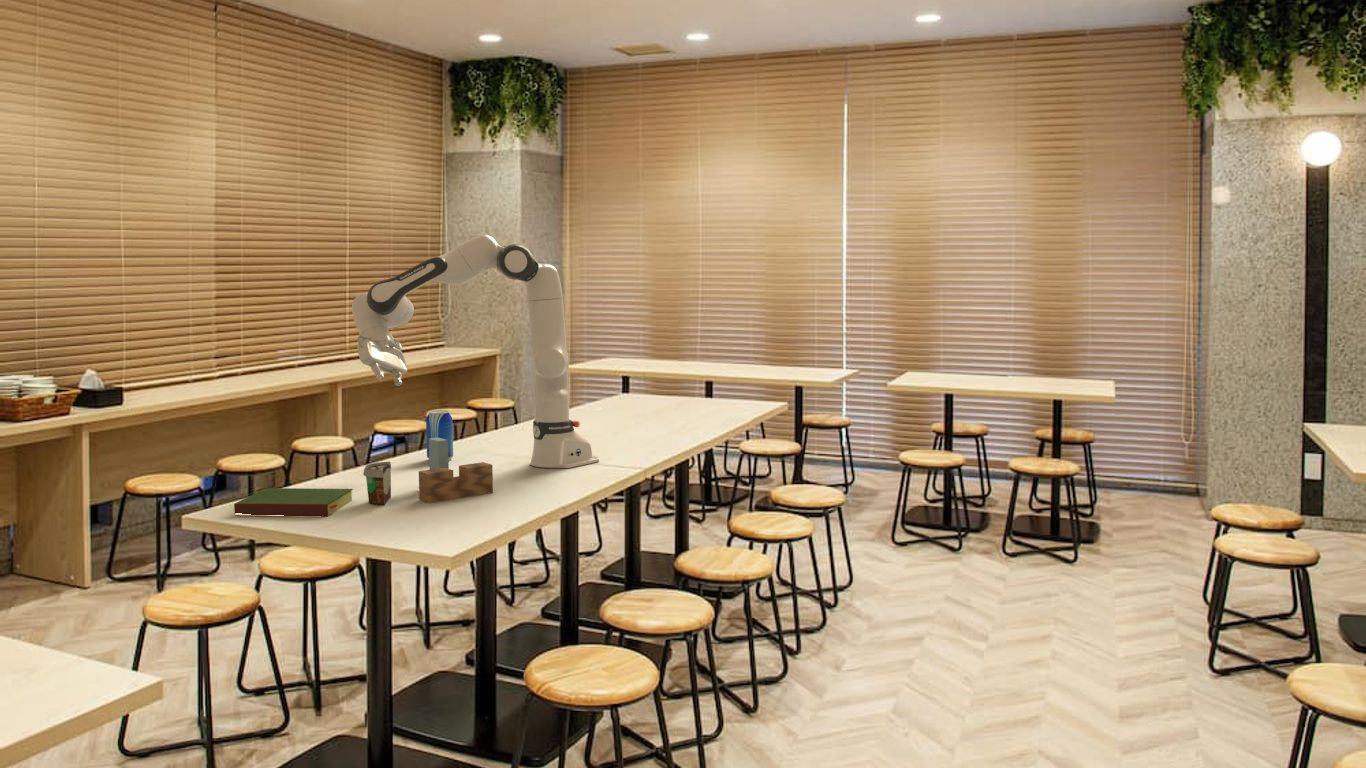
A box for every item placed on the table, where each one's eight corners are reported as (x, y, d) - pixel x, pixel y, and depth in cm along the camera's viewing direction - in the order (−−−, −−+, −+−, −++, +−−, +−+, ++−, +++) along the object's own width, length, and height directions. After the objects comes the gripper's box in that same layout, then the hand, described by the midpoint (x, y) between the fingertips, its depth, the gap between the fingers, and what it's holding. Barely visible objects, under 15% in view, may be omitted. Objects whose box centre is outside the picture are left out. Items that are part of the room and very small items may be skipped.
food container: (369, 497, 299) (368, 461, 298) (392, 496, 299) (390, 461, 298) (359, 507, 286) (358, 470, 285) (383, 506, 287) (382, 469, 286)
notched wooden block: (484, 489, 308) (483, 462, 307) (492, 492, 304) (492, 464, 303) (419, 499, 295) (418, 471, 294) (428, 503, 291) (427, 473, 290)
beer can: (447, 462, 348) (445, 413, 346) (422, 461, 350) (421, 413, 348) (457, 458, 356) (456, 410, 355) (433, 457, 358) (432, 409, 356)
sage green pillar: (439, 484, 315) (438, 437, 313) (449, 488, 310) (447, 440, 309) (430, 486, 313) (428, 438, 311) (439, 489, 308) (438, 441, 307)
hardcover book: (234, 518, 277) (234, 503, 277) (266, 501, 296) (265, 488, 295) (330, 518, 276) (329, 504, 276) (355, 502, 295) (355, 488, 294)
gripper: (364, 329, 319) (378, 369, 314) (404, 345, 338) (417, 383, 333) (347, 338, 320) (360, 379, 316) (387, 354, 339) (400, 392, 334)
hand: (389, 381), depth 325 cm, fingers open, 8 cm apart
